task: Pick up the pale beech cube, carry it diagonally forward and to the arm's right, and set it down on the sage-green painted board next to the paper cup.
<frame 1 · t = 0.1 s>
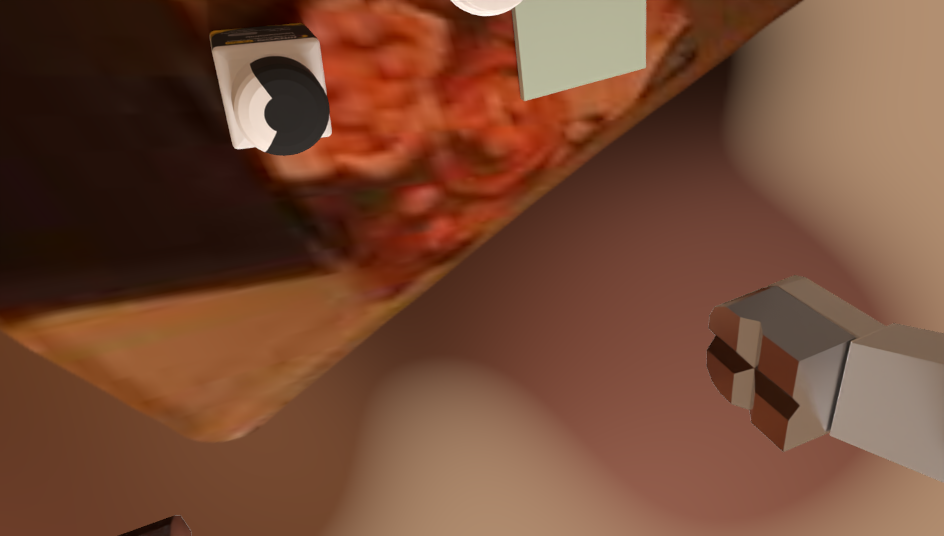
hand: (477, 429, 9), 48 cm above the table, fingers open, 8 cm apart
medicine bottle: (265, 72, 51), on the table
board: (578, 11, 58), on the table
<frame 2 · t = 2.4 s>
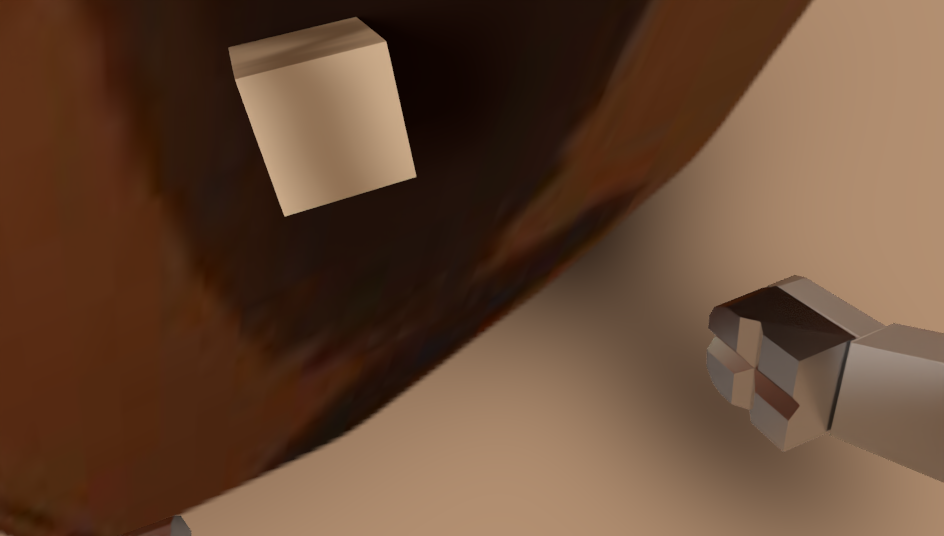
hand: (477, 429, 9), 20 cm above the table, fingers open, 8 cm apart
cube: (312, 94, 26), on the table
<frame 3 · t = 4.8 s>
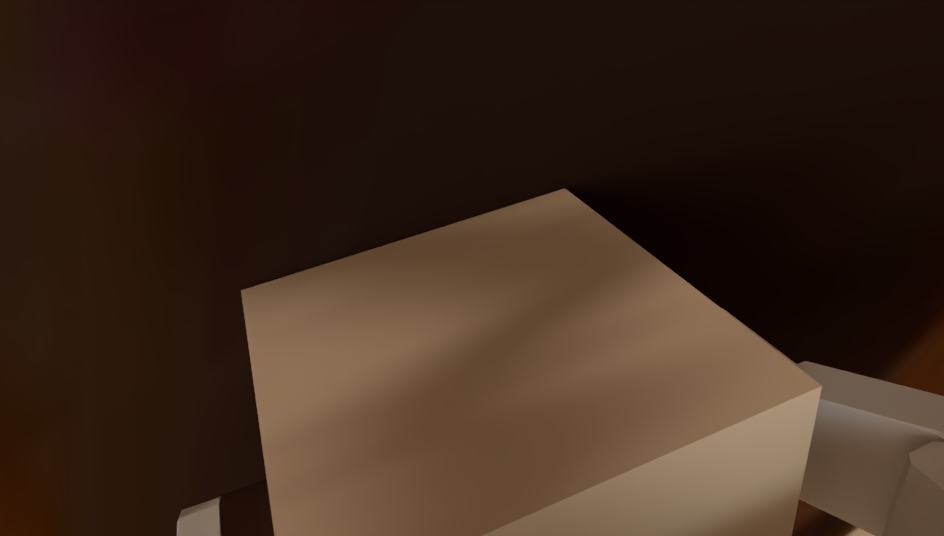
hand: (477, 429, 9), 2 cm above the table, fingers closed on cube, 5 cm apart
cube: (441, 364, 11), on the table, touching gripper
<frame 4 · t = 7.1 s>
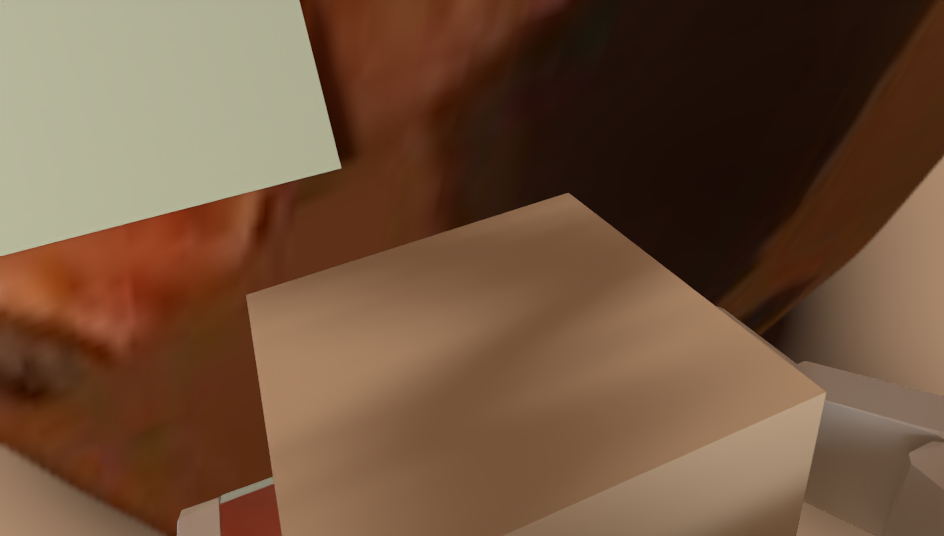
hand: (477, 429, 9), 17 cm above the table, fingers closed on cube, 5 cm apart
cube: (445, 367, 11), point 16 cm above the table, touching gripper
board: (79, 17, 20), on the table
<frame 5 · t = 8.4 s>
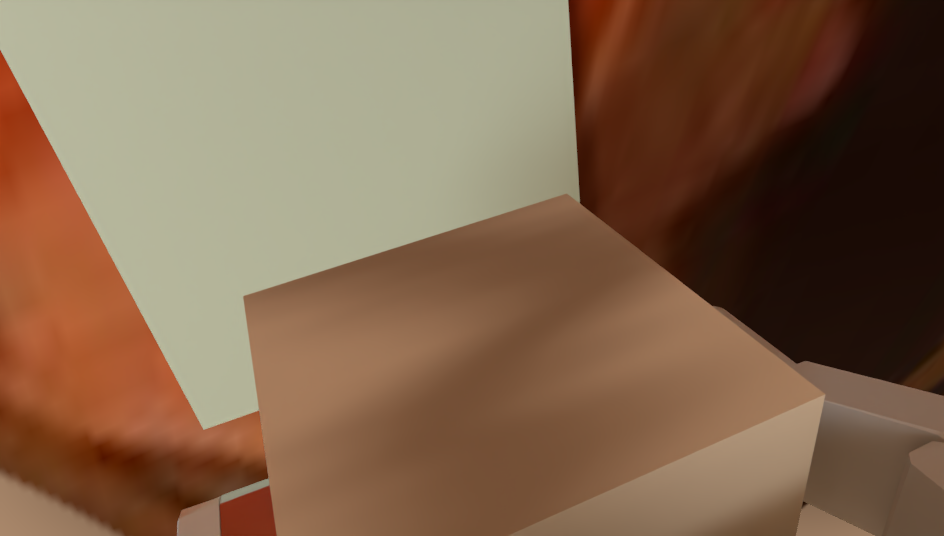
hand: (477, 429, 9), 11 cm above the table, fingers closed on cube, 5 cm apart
cube: (443, 369, 11), point 9 cm above the table, touching gripper
board: (354, 166, 18), on the table
when the fingers open (4 cm above the table, at t = 9.5 s): cube drops 2 cm, resting on board.
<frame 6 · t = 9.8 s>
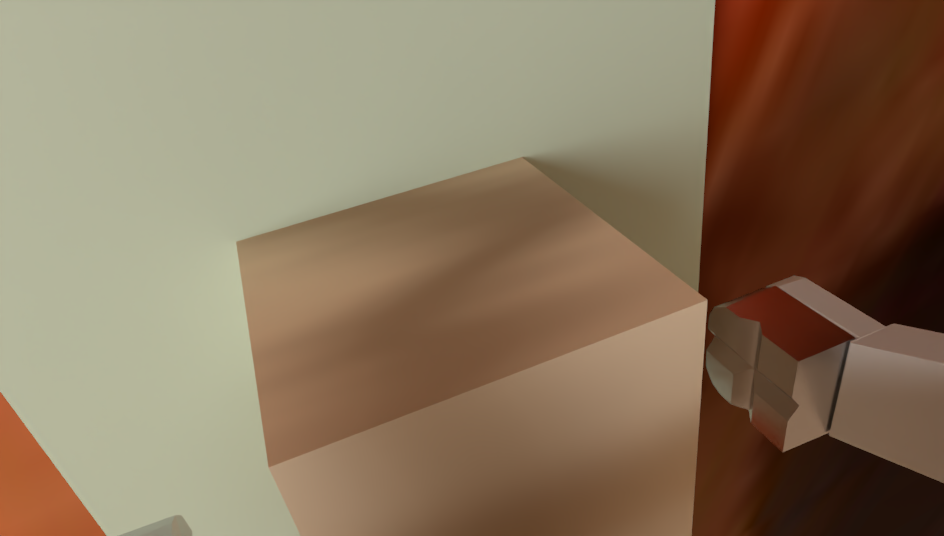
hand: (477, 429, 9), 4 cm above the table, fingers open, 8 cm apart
cube: (414, 315, 12), point 1 cm above the table, touching board
board: (400, 292, 13), on the table
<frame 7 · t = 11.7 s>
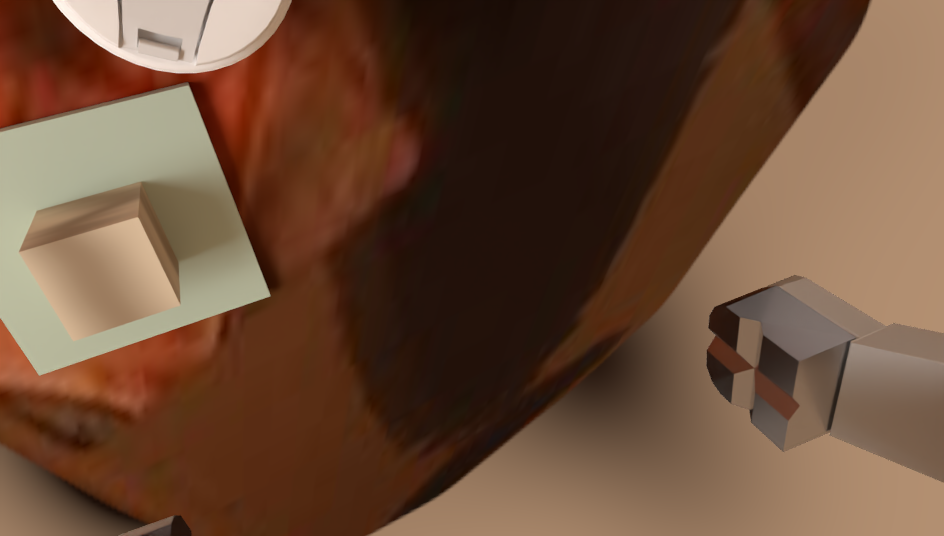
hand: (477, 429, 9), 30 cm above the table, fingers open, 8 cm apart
cube: (111, 238, 34), point 1 cm above the table, touching board
board: (111, 231, 35), on the table
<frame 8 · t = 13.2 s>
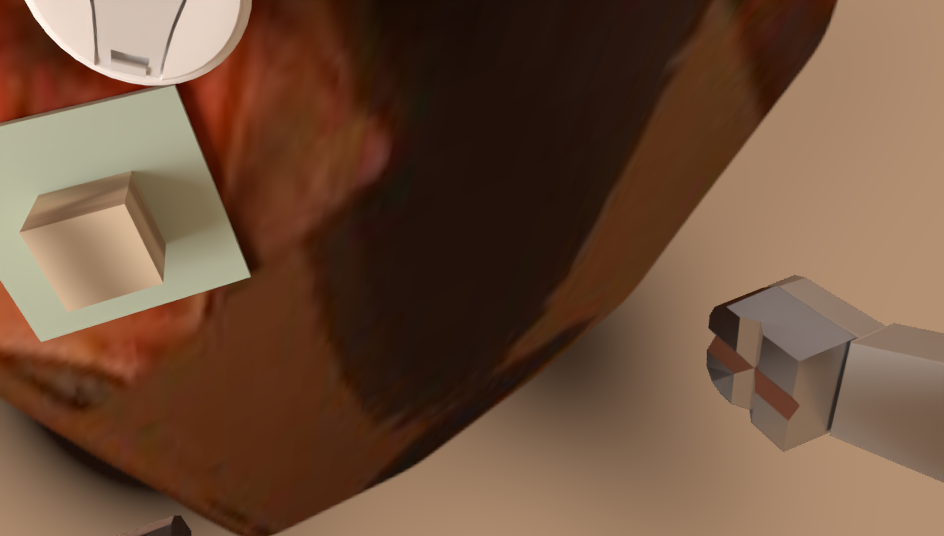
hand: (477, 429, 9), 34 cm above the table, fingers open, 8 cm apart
cube: (105, 220, 38), point 1 cm above the table, touching board
board: (105, 215, 39), on the table
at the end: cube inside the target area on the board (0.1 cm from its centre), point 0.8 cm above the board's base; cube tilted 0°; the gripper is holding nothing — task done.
